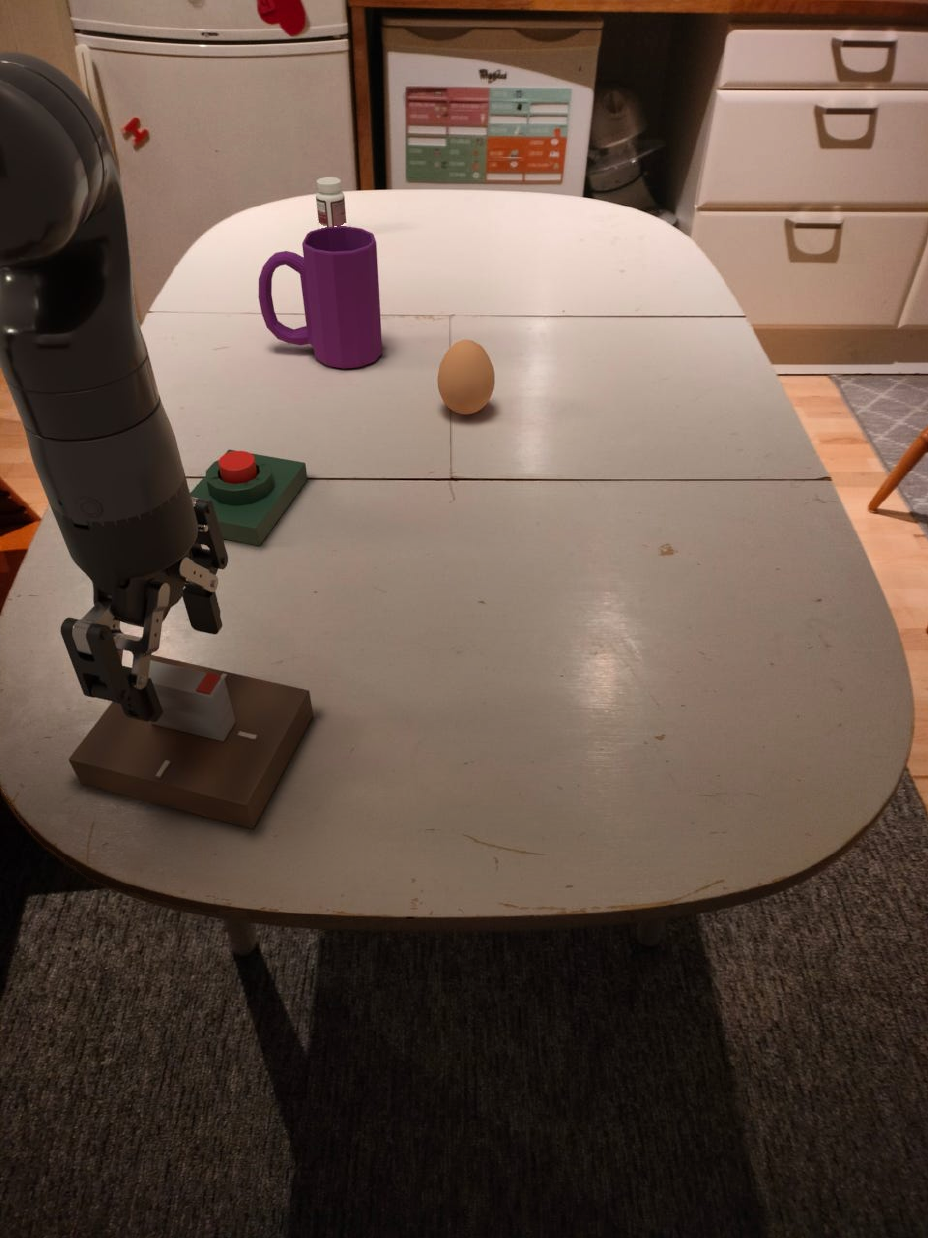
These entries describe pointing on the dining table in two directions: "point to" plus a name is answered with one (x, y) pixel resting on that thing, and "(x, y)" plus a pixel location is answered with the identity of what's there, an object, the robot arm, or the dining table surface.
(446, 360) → the egg
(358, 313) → the mug
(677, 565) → the dining table surface
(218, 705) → the tap handle
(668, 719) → the dining table surface
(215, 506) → the switch
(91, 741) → the panel
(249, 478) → the red push button
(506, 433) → the dining table surface
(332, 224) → the pill bottle
